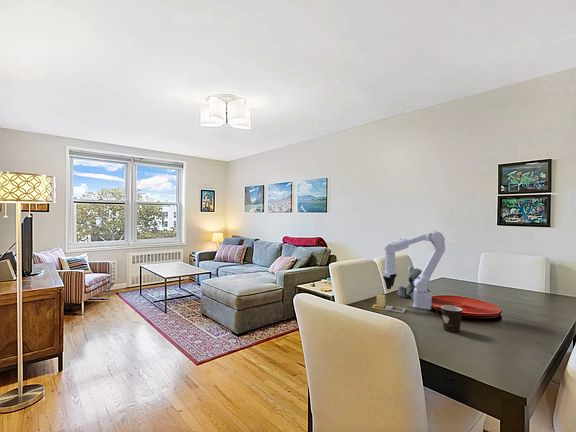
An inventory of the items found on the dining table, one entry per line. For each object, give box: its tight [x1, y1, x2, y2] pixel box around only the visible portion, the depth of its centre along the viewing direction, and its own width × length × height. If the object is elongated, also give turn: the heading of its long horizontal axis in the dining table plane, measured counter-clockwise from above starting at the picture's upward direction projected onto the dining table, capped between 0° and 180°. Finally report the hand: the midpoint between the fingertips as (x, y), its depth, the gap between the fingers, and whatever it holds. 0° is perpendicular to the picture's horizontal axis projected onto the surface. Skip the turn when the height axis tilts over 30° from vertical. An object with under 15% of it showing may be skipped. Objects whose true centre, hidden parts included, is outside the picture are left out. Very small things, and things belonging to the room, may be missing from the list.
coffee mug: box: [435, 304, 463, 334], centre depth 140 cm, size 12×9×10 cm
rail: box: [371, 303, 407, 314], centre depth 169 cm, size 17×6×1 cm, turn 61°
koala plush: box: [397, 265, 431, 302], centre depth 192 cm, size 17×18×20 cm
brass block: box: [375, 293, 386, 308], centre depth 171 cm, size 4×4×7 cm
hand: (390, 287), depth 177 cm, fingers open, 7 cm apart
